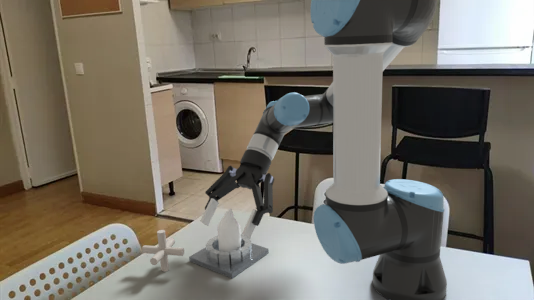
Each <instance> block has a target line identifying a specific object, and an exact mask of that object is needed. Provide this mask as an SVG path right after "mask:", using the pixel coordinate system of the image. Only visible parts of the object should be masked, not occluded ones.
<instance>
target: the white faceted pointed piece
mask: <svg viewBox="0 0 534 300" xmlns="http://www.w3.org/2000/svg"><path fill="white" fill-rule="evenodd" d="M241 229H242V227H241V225H240V223H239V222H238V221H237V218H235V215H234V213H233V209H232V208H229V209H227V211H225V212H224V215H223V217H222V218H221V219H220V220H219V222H218V224H217V236H218V243H219V251H223V252H230V251H235V250H238V249H240V248H241V235H242V233H241Z"/></svg>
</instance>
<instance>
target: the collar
mask: <svg viewBox="0 0 534 300" xmlns="http://www.w3.org/2000/svg"><path fill="white" fill-rule="evenodd" d="M269 252H270V251H269V248H267V247H264V246H262V245H258V244H257V243H252V240H251V238H250V239H248V238H246V237H245V236H244V235H242V234H241V248H240V249H238V250H235V251H230V252H223V251H219V243H218V235H217V236H213V237H212V238H210V239H209V240H208V241H207V242H206V244H205V247H204V248H202V249H201V250H198V251H197V252H195V253H193V254H191V255H190V256H188V260H189V262H191V263H193V264H196V265H197V266H201V267H203V268H205V269H208V270H210V271H212V272H216V273H218V274H220V275H222V276H225V277H228V278H230V279H233V278H235V277H236V276H237V275H239V274H241V273H242V272H243V271H245V270H246V269H248V268H249V267H251V266H252V265H254V264H255V263H257V262H258V261H259V260H261V259H262V258H264V257H265V256H267V255H268V254H269ZM253 263H254V264H253Z"/></svg>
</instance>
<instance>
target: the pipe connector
mask: <svg viewBox="0 0 534 300" xmlns="http://www.w3.org/2000/svg"><path fill="white" fill-rule="evenodd" d="M156 234H157V235H156V236H157V242H158V243H157V244H158V246H157V245H146V244H145V245H143V246H142V247H141V253H142V254H152V255H153V256H152V257H151V258H150V261H149V262H150V264H151V265H152V266H156V265H158V264H159V262H160V270H161V272H168V271H169V270H170V264H169V257H168V256H178V257H183V256H184V255H185V248H184V247H175V246H173V245H175V244H176V240H175V239H174V238H173V237H169V238H168V239H167V236H166V230H165V229H160V230H157V232H156Z"/></svg>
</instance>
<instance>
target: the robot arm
mask: <svg viewBox="0 0 534 300" xmlns="http://www.w3.org/2000/svg"><path fill="white" fill-rule="evenodd" d="M437 7H438V0H311V2H310V19H311V23H312V24H313V25H312V28H313V30H314V31H315V32H316V33H317V34H318V35H320V36H321V37H323V38H324V40H323V42H324V47H325V49H326V50H327V51H329V53H331V55H332V72H333V73H332V82H331V84H330V85H329V87H327V89H326V90H325V91H324V93H322V94H321V93H320V94H311V95H302V94H300V93H298V92H295V91H294V92H289V93H286V94H285V95H283V96H282V97H280V98H279V99H277V100H275V101H274V100H273V101H270V102H269V103H268V104H267V106H266V107H265V109H264V110H263V112H262V115H261V118H260V120H259V122H258V123H257V126H256V128H255V130H254V132H253V134H252V136H251V138H250V140H249V142H248V144H247V147H246V150H244V153H243V154H242V157H241V158H240V162H239V163H240V165H239V166H238V168H235V167H233V166H232V165H228V167H227V169H226V170H225V172H223V174H222V175H221V176H220V177H218V178H217V180H216V181H214V183H212V184H211V186H209V188H208V189H206V190H205V195H207V196H208V200H207V203H206V204H205V206H204V212H203V215H202V216H201V218H200V219H199V221H200V222H201V223H202V224H204V225H205V226H207V227H208V226H209V225H210V223H211V221H212V219H213V217H214V215H215V213H216V210H217V209H218V206H219V204H220V202H219V200H221V199H222V198H224V197H225V196H227V195H228V194H230V193H231V192H233V191H234V190H235V189H239V188H243V189H247V190H251V192H252V195H253V199H254V203H255V206H256V207H255V208H253V209H252V211H251V213H250V215H249V218H248V220H247V222H246V224H245V227H244V229H243V230H242V233H241V235H244V236H245V237H246V238H248V239H250V240H251V238H252V235H253V234H254V231H255V229H256V226H257V227H258V226H259V225H260V223H261V220H262V219H263V217H264V215H265V214H272V213H273V212H274V203H273V202H274V200H273V197H274V195H273V185H274V183H275V177H274V176H273V175H272V174H271V173H270V172H269V169H270V166H271V165H272V161H273V159H274V157H275V156H276V153H277V151H278V148H279V147H280V146H281V145H280V144H281V142H282V141H283V138H284V136H285V134H287V133H288V132H290V131H291V130H292V129H294V128H295V129H296V128H300V127H308V126H315V125H316V126H317V125H324V124H333V126H332V127H333V129H332V130H333V132H332V134H333V140H332V141H333V145H332V146H333V147H332V148H333V149H332V151H333V155H332V156H333V160H332V161H333V163H332V164H333V170H332V171H333V173H332V174H333V178H332V179H333V182H332V184H330V186H329V187H326V190H325V203H324V204H320V205H319V206H317V207H316V208H315V210H314V213H313V224H314V225H313V226H314V229H315V234H316V237H317V239H318V241H319V243H320V245H321V247H322V249H323V250H324V252H325V253H326V255H327V256H328V257H329V258H330V259H331V260H333V261H334V262H336V263H338V264H349V263H354V262H355V263H359V262H361V261H362V260H363V261H364V260H366V259H369V258H373V257H376V256H378V259H377V261H376V263H375V265H374V269H373V271H372V285H373V288H374V289H375V290H376V292H377V293H378V294H379V295H381V296H382V297H384V298H385V299H387V300H443V299H444V298H445V297H446V295H447V287H448V281H447V277H446V274H445V270H444V265H443V263H442V260H441V245H442V235H443V223H444V212H445V208H444V203H445V202H444V194H443V193H442V191H441V190H440V189H439V188H437V187H436V186H434V185H431V184H429V183H426V182H422V181H419V180H412V179H403V178H396V179H394V178H393V179H389V180H387V181H385V183H384V185H383V186H382V185H381V181H380V180H381V154H382V153H381V147H382V145H381V144H382V143H381V142H382V114H383V113H382V109H383V108H382V105H383V72H384V71H385V69H387V67H388V66H390V64H391V63H392V62H393V61H394V59H396V57H397V56H398V55H399V54H400V53H401V52H402V50H403V49H404V48H406V47H407V48H409V47H411V46H413V45H414V44H415V43H416V42H417V41H418V40H419V39H420V38H421V37H422V36H423V35H424V33H425V32H426V31H427V29H428V28H429V27H430V24H431V23H432V21H433V19H434V16H435V13H436V12H437V11H436V9H437ZM262 182H263V195H262V192H261V191H262V190H261V186H260V185H261V183H262ZM262 196H263V197H262Z"/></svg>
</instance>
